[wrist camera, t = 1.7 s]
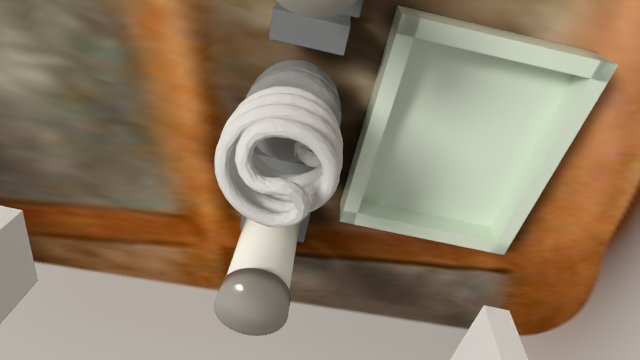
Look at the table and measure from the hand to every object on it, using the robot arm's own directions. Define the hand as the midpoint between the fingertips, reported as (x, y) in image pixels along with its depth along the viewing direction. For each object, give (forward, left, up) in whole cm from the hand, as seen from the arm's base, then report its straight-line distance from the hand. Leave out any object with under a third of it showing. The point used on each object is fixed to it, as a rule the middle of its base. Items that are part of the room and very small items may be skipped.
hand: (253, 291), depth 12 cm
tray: (+10, -1, -17) cm, 20 cm away
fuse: (0, -9, -17) cm, 19 cm away
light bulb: (0, 0, -17) cm, 17 cm away
